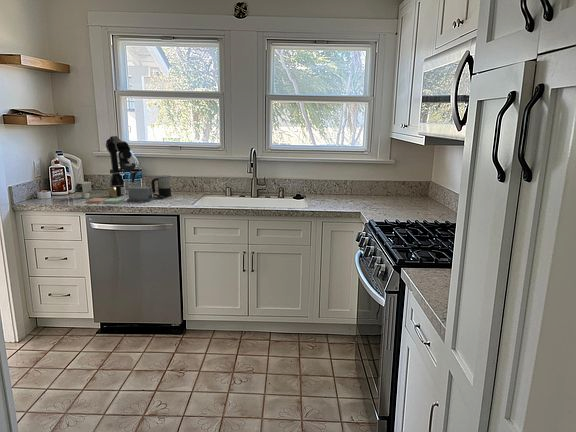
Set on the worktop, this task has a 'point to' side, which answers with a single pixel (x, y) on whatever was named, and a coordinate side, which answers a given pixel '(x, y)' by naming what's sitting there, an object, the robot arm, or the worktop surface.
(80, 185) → the pneumatic valve
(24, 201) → the worktop surface
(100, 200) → the terracotta pad
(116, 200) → the sage pad
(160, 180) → the coffee carafe
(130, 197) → the graphite housing
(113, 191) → the bronze cartridge
